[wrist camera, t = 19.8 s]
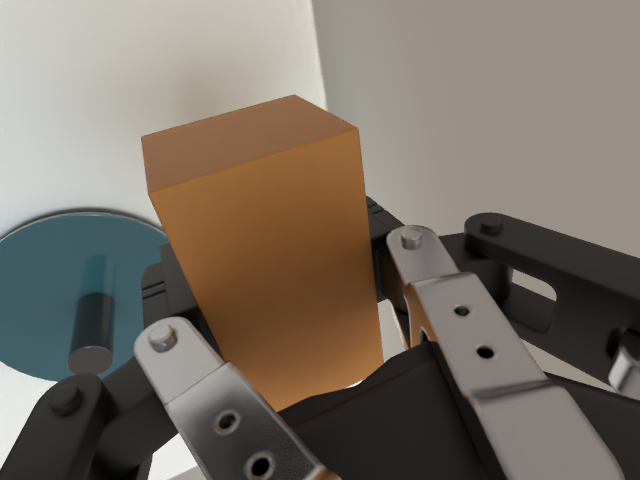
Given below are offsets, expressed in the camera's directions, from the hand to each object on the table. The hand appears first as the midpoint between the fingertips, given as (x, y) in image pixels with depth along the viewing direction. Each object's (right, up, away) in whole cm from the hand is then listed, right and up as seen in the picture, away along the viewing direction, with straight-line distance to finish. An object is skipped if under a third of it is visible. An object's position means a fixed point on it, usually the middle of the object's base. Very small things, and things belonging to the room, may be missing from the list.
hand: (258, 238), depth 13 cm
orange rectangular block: (0, 0, 0) cm, 0 cm away
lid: (-14, -5, +16) cm, 21 cm away
